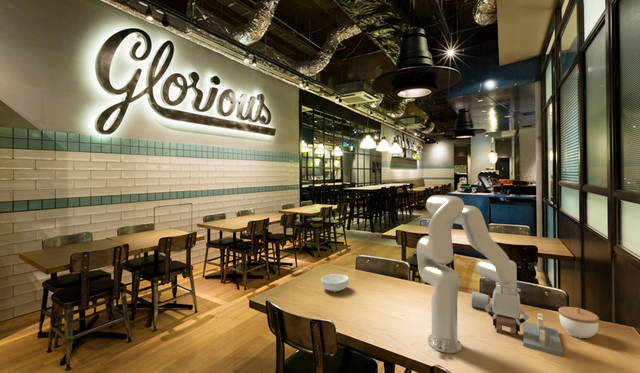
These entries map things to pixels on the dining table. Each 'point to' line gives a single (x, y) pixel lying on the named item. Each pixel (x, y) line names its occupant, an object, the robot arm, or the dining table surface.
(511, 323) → the walnut slotted block
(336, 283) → the cereal bowl
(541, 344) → the maple fin
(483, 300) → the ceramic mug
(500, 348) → the dining table surface
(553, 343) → the slate board
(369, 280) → the dining table surface
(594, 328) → the lidded bowl
